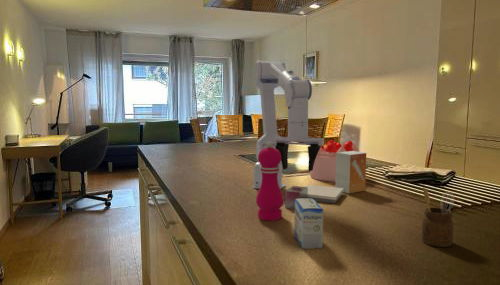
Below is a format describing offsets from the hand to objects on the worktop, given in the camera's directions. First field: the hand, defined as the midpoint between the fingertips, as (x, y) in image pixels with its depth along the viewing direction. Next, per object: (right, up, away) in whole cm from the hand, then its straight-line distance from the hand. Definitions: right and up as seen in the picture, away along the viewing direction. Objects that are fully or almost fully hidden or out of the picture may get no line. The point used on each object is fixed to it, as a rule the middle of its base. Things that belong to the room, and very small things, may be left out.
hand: (297, 169), depth 104 cm
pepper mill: (-9, -12, -9) cm, 17 cm away
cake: (+20, -6, +40) cm, 45 cm away
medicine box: (-1, -14, -26) cm, 29 cm away
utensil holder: (+26, -14, -27) cm, 40 cm away
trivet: (+9, -9, +10) cm, 16 cm away
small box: (+20, -9, +18) cm, 28 cm away
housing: (0, -11, +1) cm, 11 cm away
